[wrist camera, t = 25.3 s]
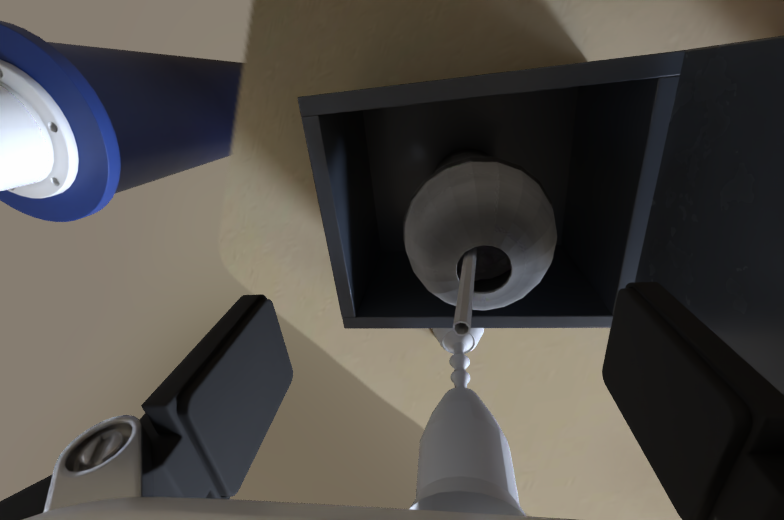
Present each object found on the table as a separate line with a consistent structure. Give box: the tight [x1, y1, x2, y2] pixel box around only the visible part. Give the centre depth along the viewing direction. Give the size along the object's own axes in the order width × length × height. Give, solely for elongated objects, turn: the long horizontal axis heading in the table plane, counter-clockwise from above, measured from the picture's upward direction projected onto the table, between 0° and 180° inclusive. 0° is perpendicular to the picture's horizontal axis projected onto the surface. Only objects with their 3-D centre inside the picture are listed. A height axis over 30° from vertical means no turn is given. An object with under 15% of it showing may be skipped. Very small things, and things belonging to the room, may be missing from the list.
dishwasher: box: [298, 50, 686, 328], centre depth 23 cm, size 17×14×11 cm
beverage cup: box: [403, 148, 557, 336], centre depth 19 cm, size 7×7×20 cm
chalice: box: [410, 328, 526, 516], centre depth 27 cm, size 7×7×18 cm
